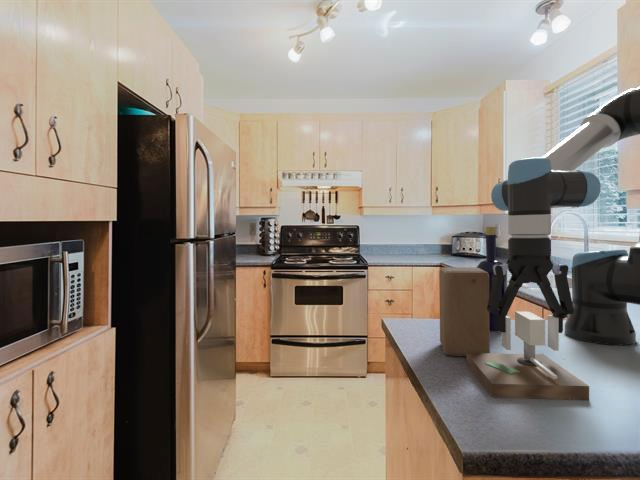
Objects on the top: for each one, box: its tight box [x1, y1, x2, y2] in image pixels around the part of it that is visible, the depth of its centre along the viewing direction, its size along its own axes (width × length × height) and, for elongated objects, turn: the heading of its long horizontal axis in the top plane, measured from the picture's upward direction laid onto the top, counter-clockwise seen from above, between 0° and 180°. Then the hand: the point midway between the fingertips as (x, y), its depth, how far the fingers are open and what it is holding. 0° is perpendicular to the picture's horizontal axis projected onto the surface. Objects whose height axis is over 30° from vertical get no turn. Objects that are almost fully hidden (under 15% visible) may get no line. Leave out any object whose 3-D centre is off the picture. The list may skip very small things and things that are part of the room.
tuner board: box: [465, 352, 590, 401], centre depth 72 cm, size 16×16×3 cm
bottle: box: [476, 226, 508, 333], centre depth 109 cm, size 9×9×30 cm
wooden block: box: [438, 266, 491, 357], centre depth 89 cm, size 10×10×20 cm
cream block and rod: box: [514, 311, 557, 379], centre depth 71 cm, size 3×14×9 cm, turn 173°
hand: (529, 348), depth 74 cm, fingers open, 8 cm apart
